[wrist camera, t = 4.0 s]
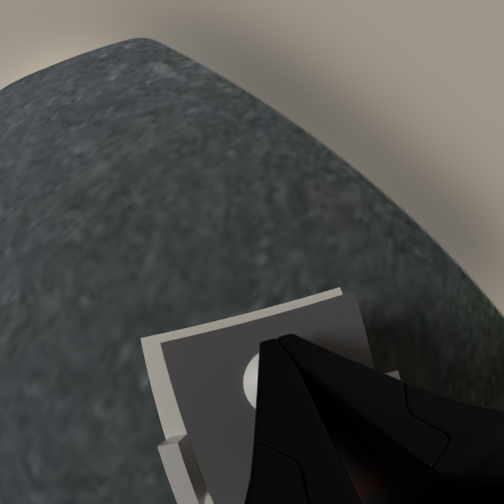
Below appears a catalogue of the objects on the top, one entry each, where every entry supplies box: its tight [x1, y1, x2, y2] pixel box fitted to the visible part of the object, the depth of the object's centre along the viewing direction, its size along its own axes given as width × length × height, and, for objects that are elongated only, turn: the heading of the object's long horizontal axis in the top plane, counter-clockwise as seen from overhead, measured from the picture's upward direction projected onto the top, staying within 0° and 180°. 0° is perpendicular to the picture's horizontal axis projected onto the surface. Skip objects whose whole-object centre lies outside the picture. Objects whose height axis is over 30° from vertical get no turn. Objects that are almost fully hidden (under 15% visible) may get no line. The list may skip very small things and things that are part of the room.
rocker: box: [160, 291, 374, 504], centre depth 8 cm, size 8×6×1 cm, turn 15°
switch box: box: [141, 287, 401, 504], centre depth 12 cm, size 10×8×9 cm
